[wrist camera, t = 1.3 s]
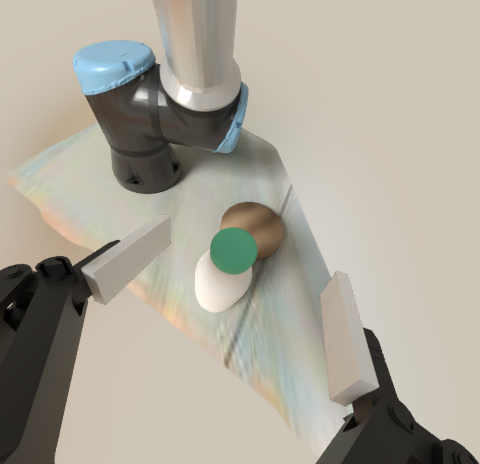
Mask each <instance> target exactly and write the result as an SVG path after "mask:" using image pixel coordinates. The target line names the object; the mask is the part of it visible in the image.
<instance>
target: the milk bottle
mask: <svg viewBox="0 0 480 464" xmlns="http://www.w3.org/2000/svg"><path fill="white" fill-rule="evenodd" d="M257 252H258V250H257V244H256V241H255V239H254V238H253V237H252V235H251V234H250V233H248V232H247V231H245V230H243V229H241V228H237V227H229V228H225V229H223V230H221V231H219V232H218V233H217V234H216V235H215V237H214V238H213V240H212V243H211V247H210V249H209V250H207V251H206V252H205V253H204V254H203V255H202V257H201V258H200V260H199V262H198V264H197V267H196V272H195V293H196V298H197V300H198V302H199V304H200V305H201V306H202V307H203V308H204V309H205V310H207V311H210V312H215V313H217V312H223V311H225V310H227V309H229V308H230V307H231V306H232V305H233V304H235V303H236V302H237V301H238V300H239V299H240V298H241V297H242V296H243V295H244V293H245V292H246V291H247V289H248V287H249V285H250V283H251V279H252V265H253V263H254V262H255V260H256V257H257Z"/></svg>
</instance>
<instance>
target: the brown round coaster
mask: <svg viewBox="0 0 480 464" xmlns="http://www.w3.org/2000/svg"><path fill="white" fill-rule="evenodd" d="M229 227H237V228H241V229H243V230H245V231H247V232H248V233H250V234H251V235H252V237H253V238H254V239H255V241H256V244H257V250H258V252H257V257H256V260H261V259H265V258H267V257H269V256H270V255H272V254H273V253H274V252H275V251H276V250H277V248H278V247H279V246H280V244H281V242H282V240H283V233H284V232H283V226H282V223H281V221H280V219H279V218H278V216H277V215H276V214H275V213H274V212H273V211H272V210H270V209H269V208H267V207H266V206H264V205H261V204H258V203H254V202H243V203H238V204H236V205H234V206H232V207H230V208H229V209H228V210H227V211H226V212H225V214H224V215H223V218H222V221H221V228H220V231H221V230H223V229H225V228H229Z"/></svg>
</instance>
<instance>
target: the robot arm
mask: <svg viewBox="0 0 480 464" xmlns="http://www.w3.org/2000/svg"><path fill="white" fill-rule="evenodd" d="M153 4H154V8H155V12H156V16H157V20H158V25H159V29H160V33H161V37H162V41H163V45H164V49H165V53H166V55H165V56H164V57H163V60H162V62H161V64H157V63H156V62H155V60H156V58H155V56H154V54H153V51H152V50H151V48H150V47H148V46H147V45H146V46H145V45H144V44H143V43H139V42H135V41H125V40H122V41H105V42H100V43H96V44H92V45H89V46H86V47H84V48H82V49H81V50H79V51H78V52H77V53H76V54H75V56H74V58H73V67H74V70H75V72H76V75H77V77H78V80H79V82H80V85H81V87H82V92H83V93H84V94H85V96H86V98H87V100H88V102H89V104H90V107H91V109H92V111H93V113H94V115H95V117H96V118H97V120H98V123H99V125H100V127H101V129H102V131H103V133H104V135H105V137H106V139H107V141H108V143H109V145H110V147H111V158H112V169H113V173H114V175H115V177H116V179H117V180H118V182H119V183H120V184H121V185H122V186H123V187H124V188H126V189H128V190H130V191H132V192H136V193H143V194H151V193H157V192H161V191H164V190H166V189H168V188H170V187H172V186H173V185H174V184H175V183H176V182H177V181H178V180H179V178H180V175H181V166H180V161H179V158H178V157H177V155H176V153H175V151H174V149H173V147H172V146H171V144H170V143H172V144H177V145H182V146H188V147H192V148H197V149H202V150H207V151H211V152H213V153H216V152H220V153H230V152H232V151H233V150H234V148H235V146H236V144H237V141H238V138H239V135H240V132H241V125H242V123H243V120H244V116H245V111H246V106H247V100H248V87H247V85H246V84H244V83H243V82H242V81H241V74H240V70H239V67H238V65H237V63H236V61H235V60H234V58H233V47H234V33H235V20H236V8H237V7H236V6H237V0H153ZM170 244H171V232H170V216H167V215H164V214H160V215H159V216H157V217H156V218H154V219H153V220H152V221H150V222H149V223H147V224H146V225H144V226H143V227H141V228H140V229H138V230H137V231H135V232H134V233H132V234H131V235H129V236H128V237H126V238H125V239H123V240H122V241H120V240H116V241H113V242H110V243H108V244H106V245H105V246H103V247H102V248H101V249H99V250H97V251H96V252H95V253H92V254H91V255H89V256H88V257H86V258H85V259H83V260H82V261H80V262H78V263H77V264H75V265H74V266H72V264H71V262H70V260H69V259H68V258H67V257H64V256H56V257H51V258H48V259H45V260H43V261H41V262H40V263H38V264H37V265H36V267H35V268H36V270H37V272H34V271H33V270H32V268H31V267H30V266H29V265H26V264H17V265H13V266H9V267H7V268H5V269H2V270H0V464H55V463H54V459H55V452H56V447H57V443H58V438H59V433H60V429H61V424H62V420H63V415H64V410H65V406H66V401H67V396H68V392H69V387H70V382H71V378H72V374H73V369H74V364H75V360H76V355H77V350H78V346H79V341H80V337H81V332H82V328H83V323H84V318H85V314H86V309H87V305H88V300H87V298H89V297H90V296H91V295H92V296H93V298H94V300H95V301H96V302H99V303H101V304H104V305H106V304H107V303H109V302H110V301H111V300H112V299H113V298H114V297H115V296H116V295H117V294H118V293H119V292H120V291H121V290H122V289H123V288H124V287H125V286H126V285H128V284H129V283H130V282H131V281H132V280H133V279H134V278H135V277H136V276H137V275H138V274H139V273H140V272H141V271H142V270H143V269H144V268H145V267H147V266H148V265H149V264H150V263H151V262H152V261H153V260H154V259H155V258H156V257H157V256H158V255H159V254H160V253H161V252H162V251H163V250H164V249H165V248H167V247H168V246H169V245H170ZM320 298H321V309H322V320H323V331H324V341H325V352H326V363H327V374H328V385H329V396H330V400H332V401H334V402H336V403H339V404H341V405H343V406H347V405H349V404H351V403H352V405H353V411H354V412H353V413H351V414H349V415H347V416H346V417H344V418H343V419H344V421H346V422H345V423H344V424H343V426H342V427H341V429H340V430H339V432H338V433H337V434H336V436H335V437H334V439H333V440H332V441H331V443H330V444H329V446H328V447H327V448H326V450H325V451H324V453H323V454H322V455H321V457H320V458H319V460H318V461H317V463H316V464H479V463H478V462H477V460H476V459H475V458H474V456H473V455H472V454H471V453H470V452H469V451H468V450H467V449H465V447H463V446H462V445H461V444H459V443H457V442H456V441H454V440H450V439H446V440H442V441H441V440H439V439H438V438H437V437H435V436H434V435H433V434H431V433H430V432H429V431H427V430H426V429H424V428H423V427H422V426H420V425H419V424H418V423H417V422H416V421H415V420H414V418H413V416H412V414H411V413H410V411H409V410H408V409H407V407H406V406H405V405H404V404H403V403H402V402H400V401H399V399H398V397H397V394H396V391H395V388H394V385H393V382H392V379H391V376H390V374H389V370H388V368H387V365H386V362H385V359H384V355H383V353H382V350H381V346H380V343H379V341H378V339H377V338H376V336H375V335H374V333H373V332H372V331H371V330H369V329H366V328H363V327H362V324H361V320H360V316H359V313H358V309H357V306H356V302H355V298H354V295H353V291H352V288H351V284H350V281H349V277H348V274H345V273H342V272H339V271H336V273H335V274H334V275H333V277H332V278H331V280H330V281H329V283H328V284H327V286H326V287H325V289H324V290H323V292H322V293H321V295H320ZM11 303H12V305H11V307H9V308H8V306H9V305H10V304H11ZM7 308H8V309H7Z"/></svg>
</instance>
